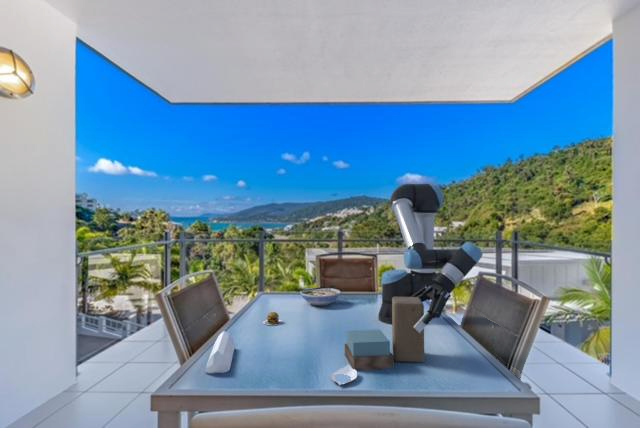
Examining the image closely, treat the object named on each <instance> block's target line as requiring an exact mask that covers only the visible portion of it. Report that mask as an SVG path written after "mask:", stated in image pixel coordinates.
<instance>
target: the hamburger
mask: <svg viewBox="0 0 640 428" xmlns="http://www.w3.org/2000/svg"><path fill="white" fill-rule="evenodd" d="M266 323H267V324H266ZM282 323H283V320H282V319H279V314H278V313H277V312H275V311H272V312H269V313H268V314H267V317H266V320H264V321H263V324H264V325H267V326H269V325H275V326H278V325H281V324H282Z"/></svg>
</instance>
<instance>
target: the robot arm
mask: <svg viewBox="0 0 640 428" xmlns="http://www.w3.org/2000/svg"><path fill="white" fill-rule="evenodd" d="M389 205H390V209H391V212H392V214H394V215H395V217H396V221H397V223H398V226H399V229H400V230H399V231H400V232H401V235H402V238H403V242H404V244H405V245H404V246H405V248H406V250H405V251H404V254H403V264H404V266H405V267H406V269H408V270H410V272H408V271H407V270H406V269H393V270H388V271H385V272H384V273H382V276H381V305H380V308H379V312H378V318H377V319H378V320H379V321H380V322H381V323H386V324H391V325H392V298H393V297H419V298H420V299H421V301H422V303H424V302H425V301H429V300H430V304H429V309H428V310H426V312H424V315H423V316H422V317H421V319H420V320H419V321H418V322H417V323H416V324H415V325H414V328H415V329H416V330H417V331H418V332H419V333H420V332H421V331H422V330H423V329H424V330H425V328H426V327H427V326H428V324H429V323H430V322H431V321H432V320H433V319H436V318H437V319H439V318H441V315H442V314H443V311H444V309H445V307H446V304H447V303H448V300H449V299H450V298H451V293H452V292H453V291H454V290H455V289H456V286H458V285H459V284H460V283H462V280H463V279H464V278H465V277H466V276H467V275H468V274H469V273H470V272H471V270H472V269H473V268H474V267H475V266H476V265H477V264H479V261H480V260H481V258H482V257H483V252H482V250H481V249H480V248H479V247H478V246H477V245H476V244H474V243H472V242H470V241H468V242H464V243H463V244H461V246H460V248H456V249H455V248H454V249H453V248H450V249H449V248H445V249H443V248H441V249H438V248H437V249H435V248H434V240H435V239H434V235H435V234H434V233H435V217H436V215H438V213H439V210H440V209H442V208H443V205H444V194H443V190H442V188H441V187H440V186H439V185H437V184H434V183H433V184H432V183H404V184H401V185H399V186H397V188H395V190H394V191H393V192H392V193H391V196H390V200H389ZM436 270H439V272H437V271H436Z"/></svg>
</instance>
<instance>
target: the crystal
mask: <svg viewBox="0 0 640 428" xmlns="http://www.w3.org/2000/svg"><path fill="white" fill-rule="evenodd" d="M234 351H235V343H234V339H233V338H232V336H231V335H230V333H228V332H227V331H226V330H223V331H222V332H221V333H220V334H219V335H218V337H217V338H216V340H215V342H214V345H213V346H212V350H211V351H210V354H209V357H208V359H207V363H206V366H205V370H204V371H205V373H207V374H209V375H210V374H224V373H225V374H226V373H227V372H229V371H230V369H231V365H232V360H233V357H234V353H235V352H234Z"/></svg>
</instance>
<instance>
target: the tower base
mask: <svg viewBox="0 0 640 428" xmlns="http://www.w3.org/2000/svg"><path fill="white" fill-rule="evenodd" d="M344 357H345V359H346V360H347V362H348V363H349V365H350V366H351V368H352V369H355V370H356V371H357V372H359V371H358V370H361V371H373V370H386V369H387V370H388V369H389V370H390V369H394V355H393V353H392V352H390V355H384V356H360V357H353V355H352V353H351V351H350V349H349V347H348V345H347V343H344Z"/></svg>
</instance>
